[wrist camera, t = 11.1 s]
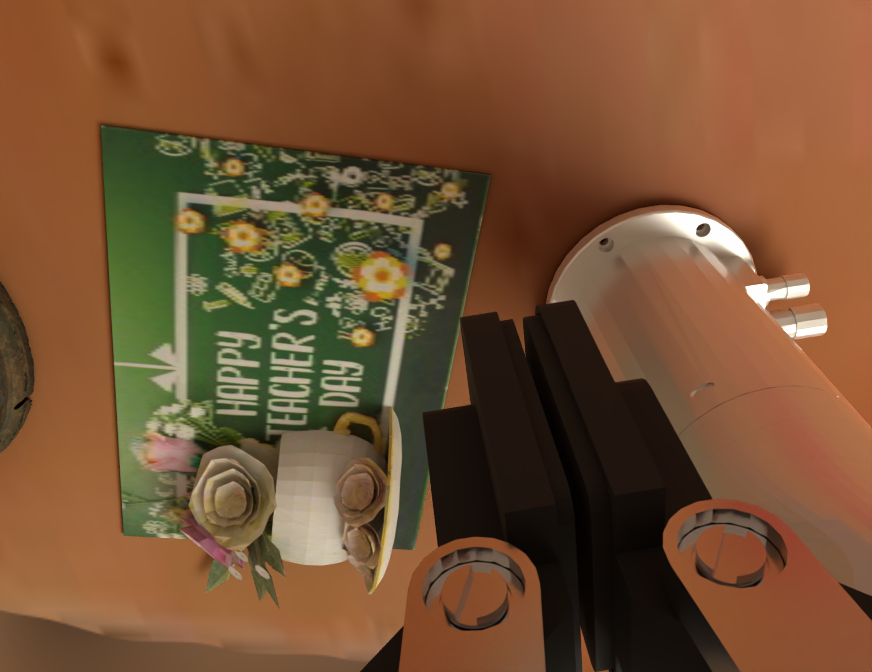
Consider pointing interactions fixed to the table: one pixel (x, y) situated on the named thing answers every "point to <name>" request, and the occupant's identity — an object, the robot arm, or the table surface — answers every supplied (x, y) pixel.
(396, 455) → the decorative card
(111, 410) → the table surface
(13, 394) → the owl figurine
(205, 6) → the table surface
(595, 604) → the robot arm
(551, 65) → the table surface
